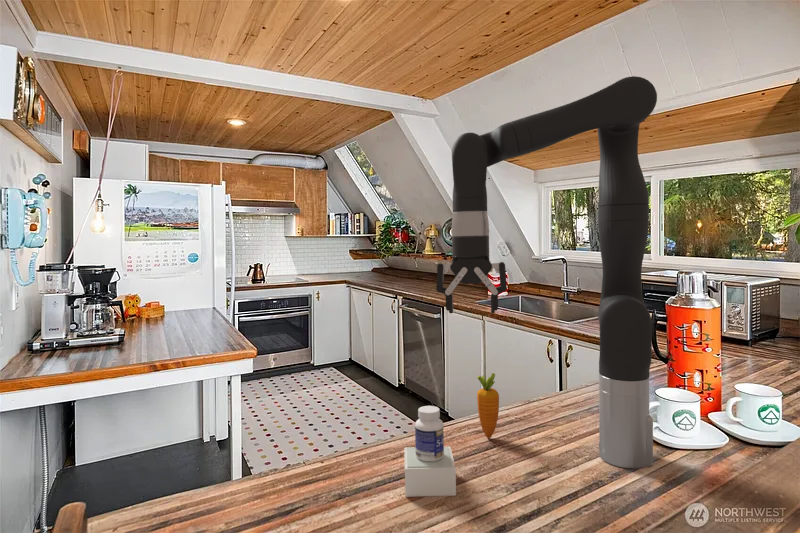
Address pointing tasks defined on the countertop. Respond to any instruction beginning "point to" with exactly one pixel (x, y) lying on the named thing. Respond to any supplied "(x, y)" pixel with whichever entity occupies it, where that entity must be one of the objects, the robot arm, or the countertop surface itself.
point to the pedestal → (429, 475)
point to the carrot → (488, 405)
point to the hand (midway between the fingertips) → (471, 312)
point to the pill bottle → (429, 434)
